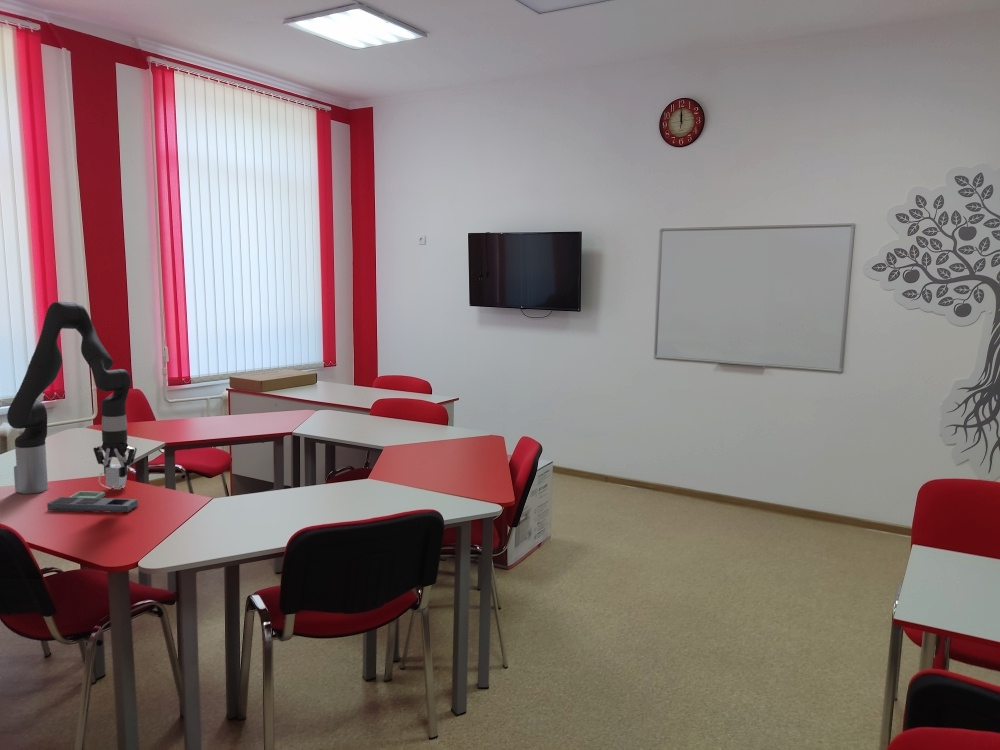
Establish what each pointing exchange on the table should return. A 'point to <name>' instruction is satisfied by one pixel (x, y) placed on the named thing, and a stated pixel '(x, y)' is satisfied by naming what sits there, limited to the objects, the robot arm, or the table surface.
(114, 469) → the light grey block
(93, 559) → the table surface
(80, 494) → the tray
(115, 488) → the cup
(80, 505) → the dark grey organizer
